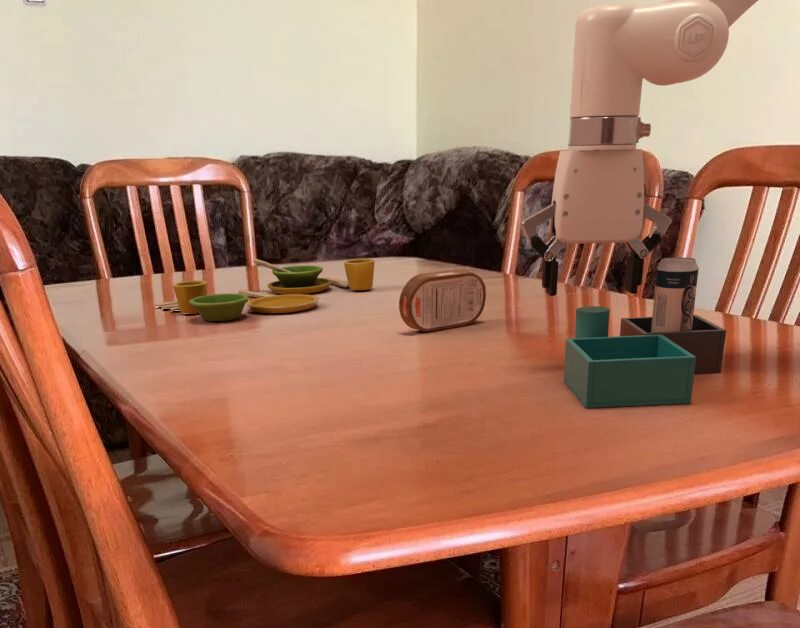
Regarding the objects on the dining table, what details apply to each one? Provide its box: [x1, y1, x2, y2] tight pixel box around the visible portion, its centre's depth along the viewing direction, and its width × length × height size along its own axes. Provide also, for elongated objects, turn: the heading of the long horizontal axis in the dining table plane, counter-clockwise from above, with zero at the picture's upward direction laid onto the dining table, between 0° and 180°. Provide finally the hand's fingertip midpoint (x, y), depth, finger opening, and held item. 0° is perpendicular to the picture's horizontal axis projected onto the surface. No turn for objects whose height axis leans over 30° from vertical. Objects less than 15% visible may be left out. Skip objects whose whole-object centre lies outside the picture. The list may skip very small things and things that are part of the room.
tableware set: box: [154, 258, 376, 322], centre depth 154 cm, size 41×28×6 cm
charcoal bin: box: [619, 314, 727, 375], centre depth 102 cm, size 10×10×5 cm
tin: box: [398, 268, 487, 333], centre depth 126 cm, size 15×3×8 cm, turn 123°
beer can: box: [651, 256, 700, 333], centre depth 100 cm, size 5×5×12 cm
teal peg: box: [574, 305, 611, 338], centre depth 102 cm, size 4×4×7 cm
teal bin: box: [563, 334, 696, 409], centre depth 92 cm, size 11×11×5 cm
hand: (590, 293), depth 100 cm, fingers open, 9 cm apart
